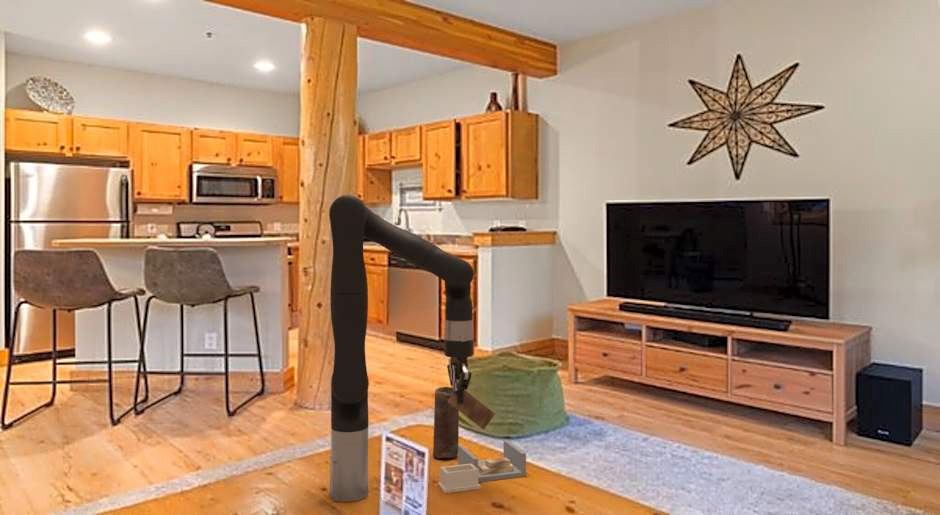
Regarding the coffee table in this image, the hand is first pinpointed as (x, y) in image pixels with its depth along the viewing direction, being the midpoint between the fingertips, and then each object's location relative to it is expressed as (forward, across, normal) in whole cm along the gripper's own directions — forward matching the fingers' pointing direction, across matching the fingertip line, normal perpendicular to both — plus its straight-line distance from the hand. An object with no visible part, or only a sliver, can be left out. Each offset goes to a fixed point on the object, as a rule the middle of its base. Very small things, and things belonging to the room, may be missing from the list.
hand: (458, 404), depth 166 cm
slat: (+5, 0, +8) cm, 9 cm away
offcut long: (+20, -4, +12) cm, 24 cm away
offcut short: (+19, -4, +12) cm, 23 cm away
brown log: (+21, -24, +4) cm, 32 cm away
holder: (+21, 0, 0) cm, 21 cm away
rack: (+21, -8, +12) cm, 26 cm away
